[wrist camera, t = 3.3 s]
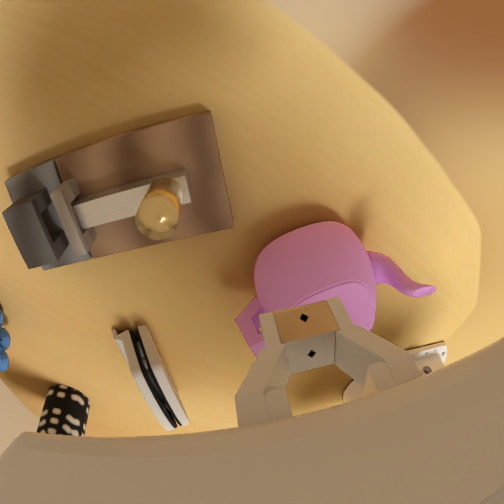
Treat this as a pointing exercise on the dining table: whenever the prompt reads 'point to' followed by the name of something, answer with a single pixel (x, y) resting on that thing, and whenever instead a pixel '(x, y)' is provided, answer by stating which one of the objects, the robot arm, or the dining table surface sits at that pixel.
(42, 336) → the dining table surface
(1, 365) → the grapes
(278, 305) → the teapot
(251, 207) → the dining table surface
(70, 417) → the white-spotted black cylinder
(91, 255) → the door board
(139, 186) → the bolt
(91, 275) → the dining table surface
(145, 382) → the light grey rounded piece
